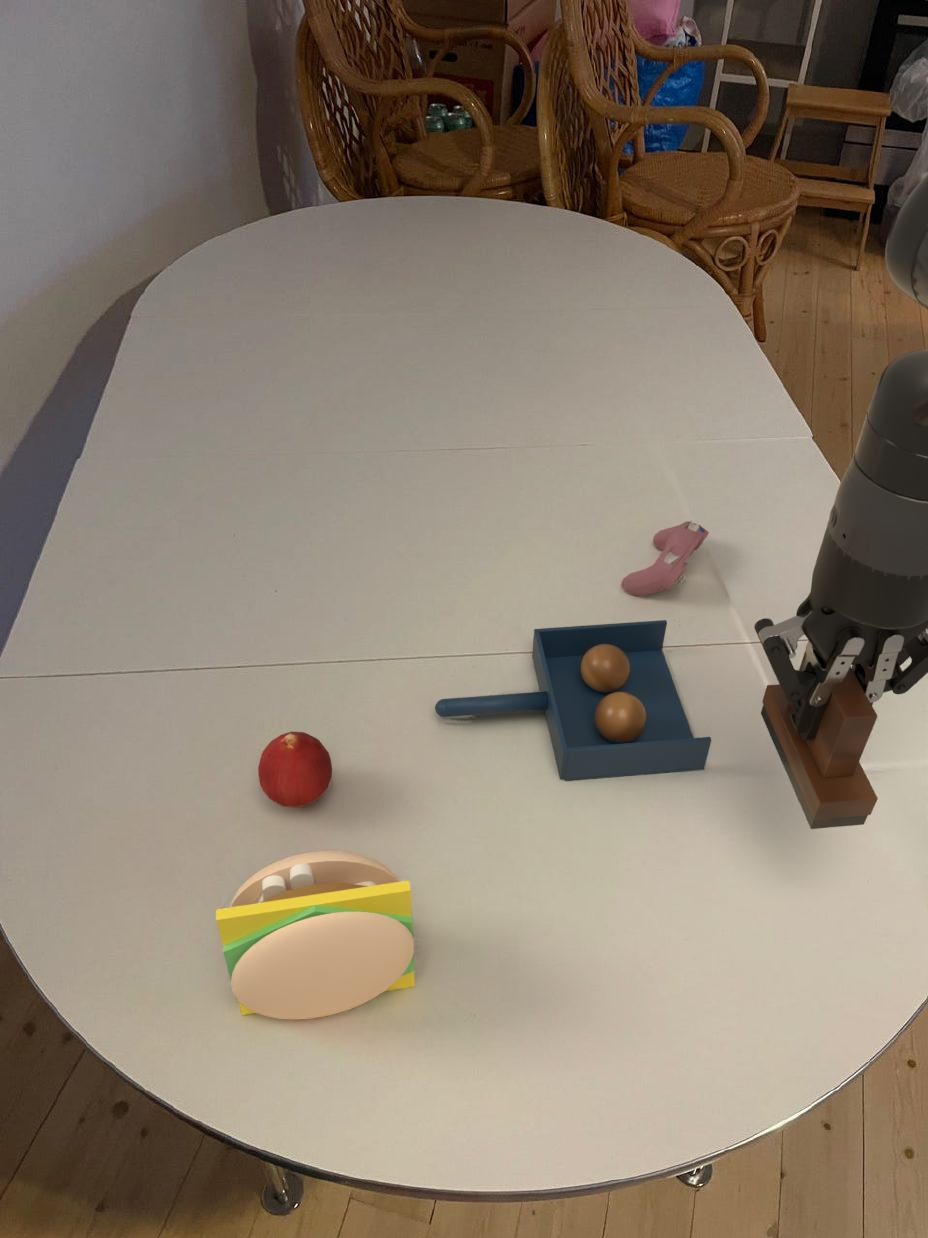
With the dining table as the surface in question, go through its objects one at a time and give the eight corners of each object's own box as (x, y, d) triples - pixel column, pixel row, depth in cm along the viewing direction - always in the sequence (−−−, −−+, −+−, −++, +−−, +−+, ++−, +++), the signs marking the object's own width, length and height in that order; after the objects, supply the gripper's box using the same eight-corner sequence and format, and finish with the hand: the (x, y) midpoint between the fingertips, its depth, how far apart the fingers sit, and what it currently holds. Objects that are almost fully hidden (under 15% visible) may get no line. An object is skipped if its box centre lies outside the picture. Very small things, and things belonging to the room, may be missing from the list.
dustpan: (660, 649, 99) (666, 619, 97) (704, 770, 88) (711, 740, 86) (428, 665, 97) (427, 635, 95) (443, 791, 86) (443, 761, 84)
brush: (809, 708, 79) (839, 621, 73) (866, 826, 71) (905, 738, 65) (758, 712, 79) (784, 624, 73) (809, 831, 71) (843, 743, 65)
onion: (273, 768, 88) (262, 703, 83) (341, 774, 88) (334, 709, 82) (256, 824, 84) (243, 759, 78) (327, 831, 83) (319, 766, 78)
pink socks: (650, 617, 105) (689, 580, 99) (614, 588, 105) (652, 549, 100) (685, 563, 111) (724, 526, 106) (652, 536, 111) (689, 497, 106)
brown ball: (605, 674, 97) (633, 642, 95) (615, 708, 94) (645, 677, 92) (566, 659, 96) (595, 627, 93) (576, 694, 92) (605, 662, 90)
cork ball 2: (581, 711, 91) (625, 719, 93) (591, 749, 88) (637, 757, 90) (603, 677, 89) (648, 686, 90) (615, 715, 86) (661, 724, 87)
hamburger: (402, 912, 78) (397, 813, 70) (419, 1016, 72) (415, 921, 64) (239, 937, 76) (215, 839, 68) (242, 1046, 70) (216, 953, 62)
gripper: (803, 579, 58) (743, 779, 69) (1040, 564, 59) (942, 763, 70) (760, 499, 63) (711, 697, 75) (977, 487, 64) (896, 684, 76)
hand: (823, 728), depth 72 cm, fingers closed on brush, 2 cm apart
